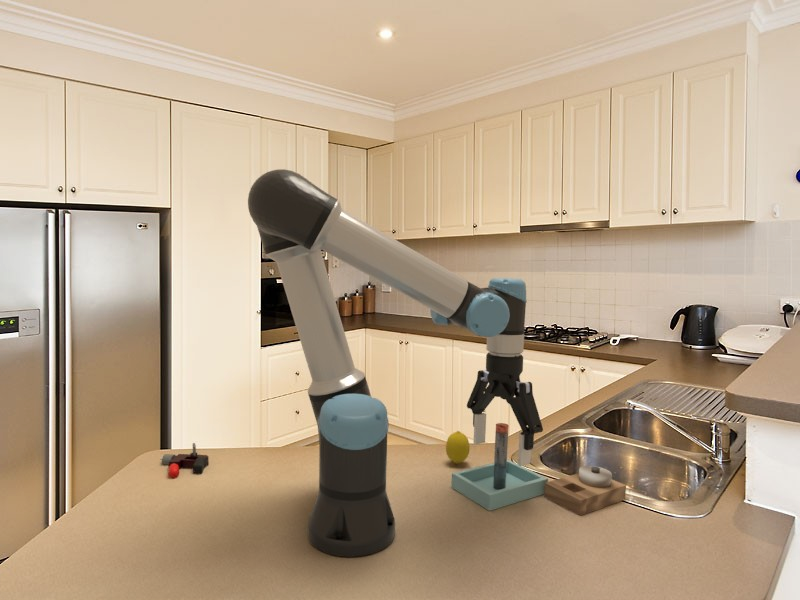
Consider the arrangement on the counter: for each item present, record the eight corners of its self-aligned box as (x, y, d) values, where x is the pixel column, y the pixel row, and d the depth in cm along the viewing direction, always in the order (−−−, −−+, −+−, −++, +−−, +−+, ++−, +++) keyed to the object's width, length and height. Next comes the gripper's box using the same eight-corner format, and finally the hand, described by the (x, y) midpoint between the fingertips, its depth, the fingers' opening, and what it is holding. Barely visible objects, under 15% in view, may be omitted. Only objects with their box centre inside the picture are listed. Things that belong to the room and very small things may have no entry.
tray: (489, 510, 103) (490, 495, 103) (451, 487, 113) (451, 473, 113) (547, 493, 112) (547, 478, 112) (507, 472, 122) (507, 459, 122)
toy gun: (163, 461, 124) (163, 441, 124) (213, 464, 123) (213, 443, 123) (141, 479, 114) (140, 457, 114) (195, 481, 114) (195, 459, 113)
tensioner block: (579, 515, 102) (581, 486, 102) (544, 497, 110) (545, 469, 109) (625, 499, 110) (626, 472, 109) (588, 483, 117) (590, 457, 117)
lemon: (467, 469, 123) (469, 436, 122) (444, 467, 124) (445, 433, 123) (469, 461, 128) (470, 428, 128) (446, 458, 129) (447, 426, 129)
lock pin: (498, 491, 111) (501, 427, 110) (490, 486, 113) (493, 424, 112) (508, 488, 112) (511, 425, 111) (499, 483, 114) (502, 422, 113)
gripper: (565, 362, 102) (559, 470, 103) (479, 342, 123) (475, 432, 124) (537, 366, 98) (531, 478, 99) (453, 344, 119) (450, 437, 120)
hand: (500, 453), depth 112 cm, fingers open, 13 cm apart
